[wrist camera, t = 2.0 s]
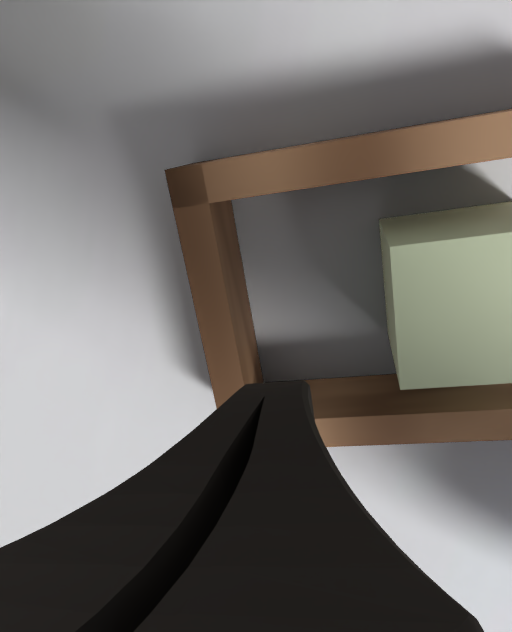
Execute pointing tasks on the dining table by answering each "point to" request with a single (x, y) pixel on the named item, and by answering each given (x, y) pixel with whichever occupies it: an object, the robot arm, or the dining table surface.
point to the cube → (449, 296)
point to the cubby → (232, 297)
